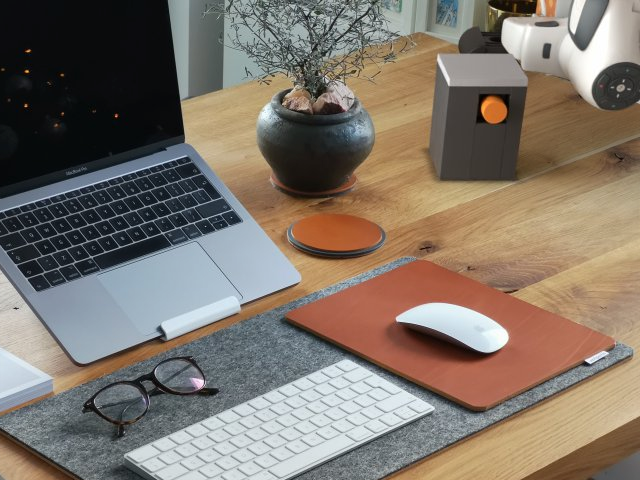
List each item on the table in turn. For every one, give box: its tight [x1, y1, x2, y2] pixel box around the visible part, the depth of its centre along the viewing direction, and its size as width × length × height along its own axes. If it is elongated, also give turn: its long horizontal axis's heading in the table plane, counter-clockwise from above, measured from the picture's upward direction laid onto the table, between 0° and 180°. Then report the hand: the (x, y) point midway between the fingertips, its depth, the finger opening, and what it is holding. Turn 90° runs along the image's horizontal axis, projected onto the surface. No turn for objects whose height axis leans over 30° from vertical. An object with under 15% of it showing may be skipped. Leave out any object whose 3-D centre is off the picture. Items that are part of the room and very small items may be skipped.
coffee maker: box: [428, 53, 529, 181], centre depth 148 cm, size 10×10×14 cm
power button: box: [480, 94, 507, 124], centre depth 143 cm, size 3×3×3 cm
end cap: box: [457, 25, 509, 54], centre depth 181 cm, size 10×7×7 cm
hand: (562, 18), depth 165 cm, fingers closed on small box, 6 cm apart
